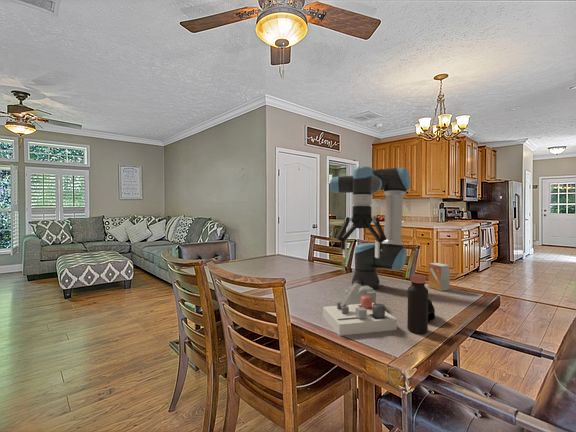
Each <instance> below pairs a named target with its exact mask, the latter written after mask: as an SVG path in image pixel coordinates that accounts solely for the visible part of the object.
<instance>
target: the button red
mask: <svg viewBox="0 0 576 432" xmlns="http://www.w3.org/2000/svg"><path fill="white" fill-rule="evenodd" d="M361 307H364V308H365V309H372V297H371V296H361Z"/></svg>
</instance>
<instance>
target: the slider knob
mask: <svg viewBox="0 0 576 432" xmlns="http://www.w3.org/2000/svg"><path fill="white" fill-rule="evenodd" d="M356 317H358V318H359V319H363V318H367V310H366V309H365V308H364V307H359V308H356Z"/></svg>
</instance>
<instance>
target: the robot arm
mask: <svg viewBox="0 0 576 432" xmlns="http://www.w3.org/2000/svg"><path fill="white" fill-rule="evenodd" d="M352 172H353V173H352V174H351V175H343V176H341V175H340V176H333V177H331V178H330V181H329V189H330V191H331V192H332V193H333V194H350V193H351V194H352V205H353V206H352V217H348V216H345V217H344V221H343V224H342V226H341V228H340V230H339V232H338V233H337V235H336V240H337V241H340V250H342V258H343V259H347V258H348V257H347V256H348V242H347V239H348V238H349V237H350V236H351V234H352V233H353V232H355V230H356V229H367V230H368V231H369V233H370V234H371V235H372V237H374V239H375V240H376V241H374V242H370V243H369V242H368V243H360V244H357V245H355V247H354V272H353V275H352V278H351V286H352V285H353V284H354V282H356V281H357V280H358V281H360V282H361V286H369V287H371V288H373V290H374V289H378V288H380V287H381V282H380V279H379V276H378V272H377V271H378V270H377V269H383V270H389V271H390V270H391V271H401V270H403V269H404V268H405V265H406V263H407V257H408V250H407V248H405V246H404V245H405V244H404V243H403V242H402V227H403V226H402V224H403V208H404V207H403V204H404V196H405V195H406V194H407V192H408V191H407V190H410V189H411V177H410V172H409V170H408V169H407V168H406V167H390V168H376V169H373V168H372V167H370V166H357V167H354V169H353V171H352ZM380 191H383V194H384V195H385V211H384V214H385V215H384V227H383V228H384V229H383V228H382V226H381V223H380V217H374V218H372V212H373V210H372V208H373V207H372V203H373V202H372V201H373V198H372V197H373V194H375V193H378V192H380ZM349 223H352V224H351V226H350V227H349V229H348V230H347V228H348V226H349ZM372 223H373V225H374V226H375V228H376V230H375V229H374V228H373V226H372ZM346 230H347V231H346Z"/></svg>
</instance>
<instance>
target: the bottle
mask: <svg viewBox="0 0 576 432" xmlns="http://www.w3.org/2000/svg"><path fill="white" fill-rule="evenodd" d="M426 278H427V277H426V275H423V274H420V273H419V274H418V273H414V274H410V283H411V284H410V286H409V287H408V288H407V322H406V323H407V325H406V326H407V331H409V332H410V333H413V334H418V335H424V334H427V333H428V331H429V329H428V326H429V324H428V323H429V321H428V299H429V289H428V288H427V287H426V286H425V285H426V283H427V281H426Z"/></svg>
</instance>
